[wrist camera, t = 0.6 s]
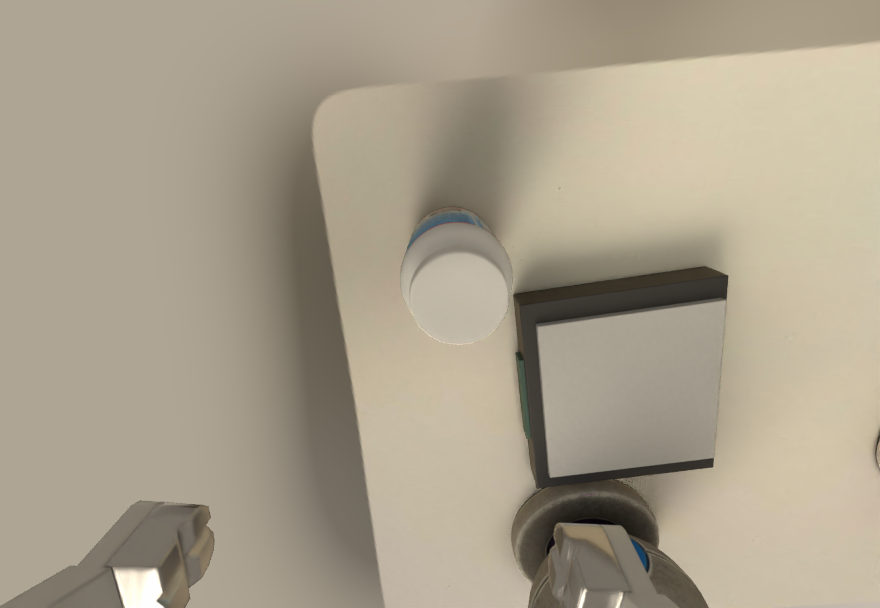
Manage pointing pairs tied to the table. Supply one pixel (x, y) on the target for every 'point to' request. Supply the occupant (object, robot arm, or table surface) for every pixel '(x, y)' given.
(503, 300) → the pill bottle
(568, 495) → the webcam
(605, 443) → the scale
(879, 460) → the speaker
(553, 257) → the table surface
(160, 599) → the robot arm
